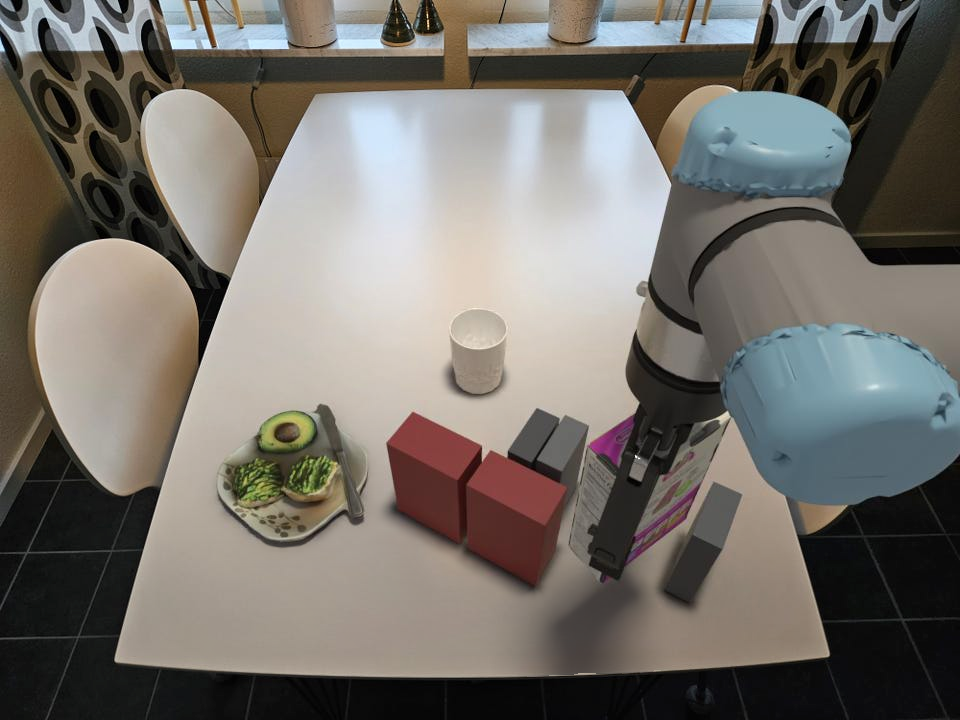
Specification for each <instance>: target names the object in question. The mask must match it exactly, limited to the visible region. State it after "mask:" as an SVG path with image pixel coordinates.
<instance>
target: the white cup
mask: <svg viewBox="0 0 960 720" xmlns="http://www.w3.org/2000/svg"><path fill="white" fill-rule="evenodd" d="M507 323H508V322H507V321H506V319H505V318H504V317H503V316H502V315H501V314H500V313H499V312H496V311H495V310H492V309H488V308H485V307H473V308H472V307H471V308H468V309H464V310H462V311H460V312H458V313H457V314H456V315H454V316H453V317H452V318H451V320H450V322H449V324H448V333H449V342H450V343H449V344H450V352H451V360H452V367H453V370H454V378H455V382H456V384H457V385H458V387H459V388H460V389H461V390H462V391H465V392H467V393H470V394H472V395H483V394H484V395H485V394H487V393H489V392H493V391H494V390H495V389H496V388H497V387H498V386H499V385H500V384H501V380H502V377H503V369H504V365H505V360H506V359H505V358H506V351H507V340H508V332H509V327H508V324H507Z"/></svg>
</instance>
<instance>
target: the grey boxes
mask: <svg viewBox="0 0 960 720" xmlns="http://www.w3.org/2000/svg"><path fill="white" fill-rule="evenodd" d="M589 428H590V425H589V424H587V423H584V422H582V421H580V420H578V419H575V418H573V417H572V416H569V415H567V414H564V416H563V417H562V419H561V418H560V417H558V416H556V415H554V414H552V413H550V412H548V411H545V410H543V409H540V408H539V407H536V408H535V409H534V411H533V412H532V414H531V415H530V417H529V418H528V420H527V422H526V423H525V424H524V426H523V427H522V429H521V430H520V432H519V433H518V435H517V436H516V437H515V439H514V440H513V442H512V443H511V445H510V447H509V448H508V449H507V455H506V458H508V459H510V460H512V461H514V462H516V463H519V464H521V465H523V466H525V467H527V468H529V469H531V470H533V471H535V472H537V473H539V474H541V475H543V476H545V477H547V478H549V479H551V480H553V481H555V482H557V483H559V484H561V485H563V486H565V487H567V493H566V498H565V503H564V508H563V511H564V509H566V506H567V504H569V503H568V502H569V501H570V499H571V497H572V496H573V494H574V492H575V490H576V488H577V484H578V480H579V476H580V471H581V467H582V461H583V457H584V452H585V448H586V443H587V439H588V433H589ZM704 497H705V498H704V499H703V501H702V503H701V505H700V507H699V509H698V511H697V513H696V515H695V517H694V520H693V521H692V523H691V526H690V527H689V529H688V531H687V533H686V535H685V537H684V539H683V541H682V544H681V546H680V549H679V551H678V554H677V556H676V558H675V560H674V564H673V566H672V568H671V571H670V573H669V576H668V578H667V580H666V583H665V586H664V588H663V590H664V591H666V592H668V593H669V594H672V595H674V596H676V597H677V598H679V599H681V600H683V601H685V602H687V603H689V604H690V603H691V602H692V600H693V599H694V597H695V596H696V594H697V592H698V591H699V589H700V587H701V585H702V584H703V582H704V581H705V579H706V577H707V575H708V574H709V572H710V571H711V569H712V568H713V566H714V564H715V563H716V561H717V560H718V558H719V556H720V555H721V552H722V551H723V550H724V547H725V544H726V541H727V539H728V536H729V533H730V531H731V528H732V525H733V522H734V519H735V516H736V513H737V510H738V508H739V505H740V503H741V500H742V497H743V493H740V492H738V491H736V490H734V489H732V488H730V487H727V486H725V485H723V484H721V483H718V482H716V481H713V482H712V484H711V485H710V488H709V489H708V492H707V493H706V496H704Z"/></svg>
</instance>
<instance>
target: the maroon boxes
mask: <svg viewBox="0 0 960 720" xmlns="http://www.w3.org/2000/svg"><path fill="white" fill-rule="evenodd" d="M385 445H386V450H387V455H388V461H389V466H390V473H391V479H392V484H393V490H394V494H395V500H396V501H395V502H396V504H397V510H398V511H400V512H402V513H404V514H406V515H408V516H409V517H411V518H413V519H414V520H416V521H418V522H420V523H422V524H424V525H425V526H427V527H428V528H431V529H433V530H434V531H436V532H438V533H439V534H441V535H443V536H445V537H447V538H448V539H451V540H452V541H454V542H456V543H458V544H459V545H461V543H462V542H463V540H464V539H465V537H466V536H467V539H466V540H467V549H468V550H469V551H472V552H474V553H475V554H478V555H479V556H481V557H482V558H484V559H486V560H487V561H490V562H492V563H493V564H495V565H497V566H499V567H500V568H502V569H504V570H506V571H507V572H509V573H512V574H513V575H515V576H517V577H518V578H521V579H522V580H523V581H525V582H527V583H529V584H531V585H532V586H535V587H536V586H537V585H538V583H539V581H540V580H541V578H542V576H543V574H544V572H545V570H546V568H547V566H548V565H549V563H550V561H551V559H553V558H552V557H553V556H554V554H555V552H556V549H557V545H558V540H559V538H558V537H559V535H560V534H559V533H560V528H561V524H562V518H563V513H564V510H563V508H564V503H565V498H566V493H567V487H565V486H563V485H561V484H559V483H557V482H555V481H553V480H551V479H549V478H547V477H545V476H543V475H541V474H539V473H537V472H535V471H533V470H531V469H529V468H527V467H525V466H523V465H521V464H519V463H516V462H514V461H512V460H510V459H508V458H507V456H504V455H502V454H500V453H498V452H496V451H494V450H492V449H490V450H489V452H488V453H487V454H486V456H485V457H484V458H483V445H482V444H479V443H478V442H475V441H473V440H471V439H469V438H467V437H466V436H463V435H461V434H459V433H457V432H455V431H453V430H451V429H449V428H448V427H445V426H443V425H442V424H441V425H440V424H439V423H437V422H435V421H433V420H430V419H429V418H427V417H425V416H423V415H421V414H418V413H417V412H414V411H411V413H410V414H409V415H408V416H407V418H406V419H405V420H404V421H403V422H402V424H401V425H400V426H399V427H398V428H397V430H396V431H394V433H393V434H392V436H391V437H390V438H389V439H388V440H387V441H386V442H385ZM564 509H565V508H564Z"/></svg>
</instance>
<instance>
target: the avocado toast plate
mask: <svg viewBox="0 0 960 720" xmlns="http://www.w3.org/2000/svg"><path fill="white" fill-rule="evenodd" d="M368 458H369V457H368V454H367V451H366V450H365V449H364V448H363V447H362V446H361V444H359V442H357V441H356V440H354V439H353V438H352V437H350V436H349V435H348V434H346V433H345V432H344V431H342V430H341V429H339V428H338V426H337V425H336V418H335V415H334V413H333V411H332V409H331V408H330V406H329V405H327V404H324V403H318V404H317V406H316V409H315V410H314V411H300V410H287V411H282V412H280V413H277V414H274V415H273V416H271V417H269V418H268V419H267V420H265V421H264V422H263V423H262V424H261V425H260V426H259V431H258V432H257V434H255V435H254V436H253V437H252V438H250V439H249V440H247V441H246V442H245V443H243V444H242V445H240V447H238V448H237V449H236V450H234V451H233V452H232V453H231V454H229V456H227V457H226V458H225V459H224V461H223V462H222V463H221V465H220V467H219V469H218V472H217V477H216V491H217V494H218V496H219V497H220V500H221V501H222V503H223V504H224V505H225V507H226V508H227V509H228V510H229V511H231V512H232V513H234V514H235V515H237V517H239V519H240V520H242V521H243V522H244V523H245V524H247V526H248V527H250V528H251V529H252V531H254V532H256V533H257V534H259V535H261V537H263V538H264V539H267V540H270V541H274V542H279V543H285V542H288V543H289V542H295V541H301V540H304V539H306V538H308V537H309V536H311V535H312V534H314V533H315V532H317V531H319V530H320V529H321V528H322V527H324V526H326V524H328V523H329V522H330V521H331V520H332V519H333V518H334V517H336V516H337V515H338V514H340V513H341V512H344V511H347V512H348V514H349V516H350V517H351V518H353V519H357V518H361V517H363V516H364V514H365V507H364V505H363V502H362V499H361V496H360V494H361V490H362V488H363V486H364V485H365V483H366V481H367V479H368V470H369V459H368Z"/></svg>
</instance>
